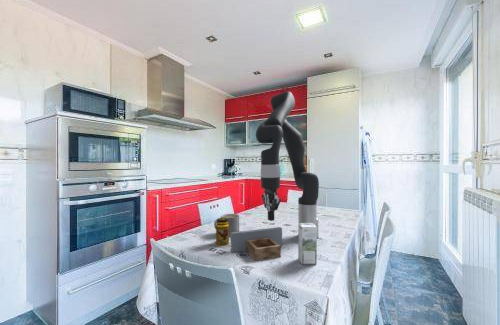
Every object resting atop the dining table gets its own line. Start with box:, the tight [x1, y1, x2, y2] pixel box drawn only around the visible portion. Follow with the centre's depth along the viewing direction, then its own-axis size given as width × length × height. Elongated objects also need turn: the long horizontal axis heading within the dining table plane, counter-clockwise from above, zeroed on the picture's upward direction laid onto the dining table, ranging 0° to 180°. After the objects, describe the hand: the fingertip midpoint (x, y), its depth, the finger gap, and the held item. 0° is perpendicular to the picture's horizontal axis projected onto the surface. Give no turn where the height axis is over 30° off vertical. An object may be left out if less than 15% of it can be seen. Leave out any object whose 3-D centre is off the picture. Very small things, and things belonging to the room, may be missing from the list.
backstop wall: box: [230, 226, 283, 253], centre depth 101 cm, size 24×2×8 cm, turn 110°
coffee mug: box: [213, 213, 240, 238], centre depth 121 cm, size 13×10×10 cm
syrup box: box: [297, 223, 318, 266], centre depth 87 cm, size 6×6×14 cm
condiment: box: [210, 217, 231, 248], centre depth 107 cm, size 7×8×12 cm
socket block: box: [246, 238, 282, 262], centre depth 95 cm, size 11×11×4 cm
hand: (271, 220), depth 88 cm, fingers closed
